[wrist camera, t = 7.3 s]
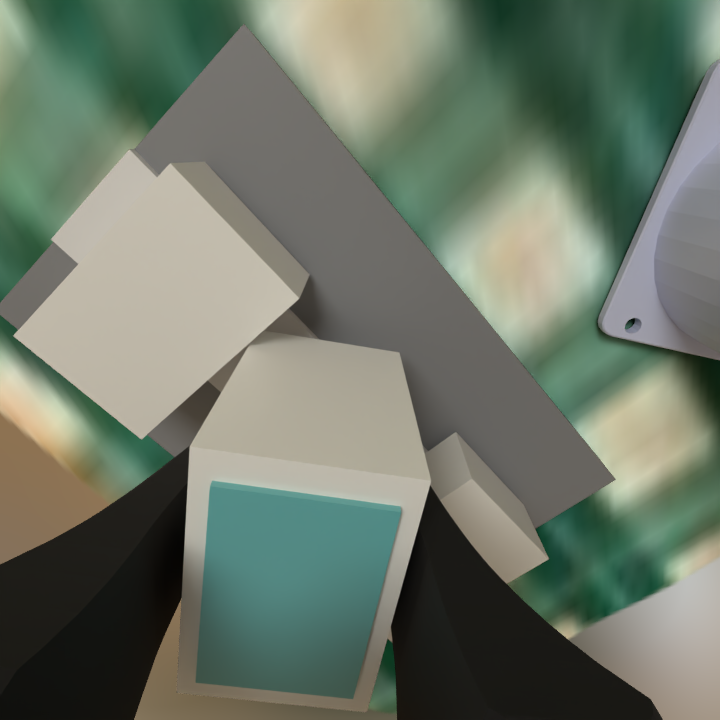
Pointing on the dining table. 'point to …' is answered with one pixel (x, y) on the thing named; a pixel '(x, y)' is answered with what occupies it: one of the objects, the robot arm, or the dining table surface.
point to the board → (354, 279)
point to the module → (299, 524)
